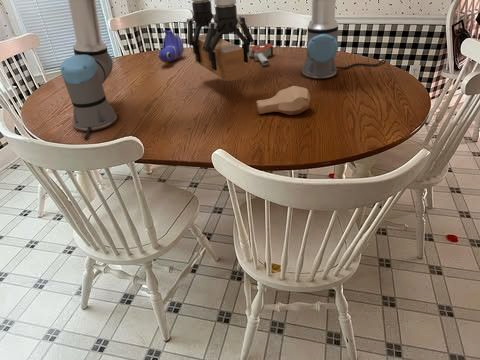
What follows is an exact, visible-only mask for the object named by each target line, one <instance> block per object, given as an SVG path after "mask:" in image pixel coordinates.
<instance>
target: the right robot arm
mask: <svg viewBox="0 0 480 360" xmlns="http://www.w3.org/2000/svg"><path fill="white" fill-rule="evenodd" d="M191 1H192V2H191V6H192V13H193V15H192V17H191V18H187V19H186V23H187V45H189V46H191V47H192V51H193V54H194V55H195V54H196V61H198V62H201V61H200V53H199V46H198V45H197V42H198V38H199V35H201V30H202V28H204V27H207V28H208V23H209V22H211V23H212V20H213V23H216V13H214V14H213V12H212V11H213V10H212V9H213V8H212V2H211V0H191ZM335 16H336V0H311V20H310V21H309V23H308V25H307V44H306V45H307V46H306V53H307V54H306V59H305V60H304V62H303V66H302V71H301V74H302V76H303V77H305V78H307V79H312V80H328V79H332V78H334V77H336V75H337V69H341V70H346V69H350V68H351V67H353V66H367V67H376V66H379V65H380V64H382V63H383V62H384V63H386V62H387V61H386V60H385V59H381V60H380V61H379V62H378V63H363V62H361V63H360V62H358V63H351V64H349V65H348V66H337V65H336V59H335V57H336V56H337V53H338V51H339V44H338V43H339V41H338V40H339V23H338V21H337V20H336V19H335V18H336V17H335ZM194 23H195V26H194ZM194 28H195V29H194ZM217 29H218V28H217V27H216V28H215V29H214V34H213V35H214V36H215V34H216V31H217ZM193 36H194V37H193ZM223 36H224V35H223ZM223 36H222V37H221V39H223V40H224V37H223ZM196 61H195V62H196Z"/></svg>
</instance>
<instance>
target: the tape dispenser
mask: <svg viewBox="0 0 480 360" xmlns="http://www.w3.org/2000/svg"><path fill="white" fill-rule="evenodd" d="M260 47H261V48H260ZM273 54H274V46H273V45H272V43H265V44H264V43H263V44H257V45H256V44H255V45H251V46H250V45H249V53H248V56H249V57H251V58H254V61H255V62H258V61H259V62H260V63H261V66H262V67H264V66H265V67H266V66H268V65H269V64H270V59H268V58H269V57H272V56H273Z"/></svg>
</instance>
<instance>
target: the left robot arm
mask: <svg viewBox="0 0 480 360" xmlns="http://www.w3.org/2000/svg"><path fill="white" fill-rule="evenodd" d="M213 2H214V5H215V7H214V11H215V14H216V23H214V22H212V21H211V22H209V23H208V27H207V28H208V29H207V32H206V34H207V36H206V39H205V42H204V46H203V50H204V51H205V52H208V56H209V61H211V64H212V69H213V70H217V66H216V56H215V52H213V51H214V49H215V47H216V45H217V44H218V42H219V40H220V38H221V37H222V36H224V35H228V34H233V33H234V34H235V35H236V36H237V37H238V38H239V39H240V40H241V41H242V42H243V43H241V48H243V52H244V63H246V64H247V63H249V55H248V53H249V46H250V45H251V43H253V42H254V38H253V36H252V34H251V32H250V29H249V27H248V26H247V24H246V18H245V17H243V16H239V17H237V16H238V12H237V5H236V4H237V0H213ZM68 6H69V10H70V16H71V20H72V27H73V30H74V36H75V40H76V42H75V44H74V45H73V46H72V49H73V54H74V55H72V56H70V57H67V58H65V59H63V61H62V62H61V63H60V66H59V68H60V72H61V73H60V74H61V77H62V79H63V82H64V84H65V87H66V90H67V93H68V96H69V99H70V101H71V104H72V108H73V114H72V117H73V118H72V119H73V125H74V128H75V129H76V131H78V132H84V133H85V135H84V136H83V137H84V140H88V138H89V135H90V133H92V132H99V131H102V130H105V129H107V128H110V127H111V126H113V125H115V124H116V122H117V121H118V116H117V113H116V111H115V110H114V108H113V107H112V105H111V103H110V102H109V101H108V99H107V96H106V92H105V89H104V87H103V86H104V85H103V84H104V83H105V82H106V80H107V79H108V78H109V77H110V76H111V73H112V71H113V66H114V65H113V59H112V56H111V54H110V53H109V51H108V46H107V44H106V43H105V42H103V41H102V35H101V29H100V23H99V22H100V20H99V16H98V15H99V13H98V7H97V2H96V0H68ZM238 24H239V26H240V27H241V30H242V32H243V33H242V32H241V30H240V29H239V28H238V27H237V26H238ZM216 27H217V28H218V29H217V31H216ZM214 30H215V32H216V34H215V36H214V38H213V40H212V37H213V34H214ZM211 40H212V42H211Z"/></svg>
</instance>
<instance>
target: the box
mask: <svg viewBox="0 0 480 360" xmlns="http://www.w3.org/2000/svg"><path fill="white" fill-rule="evenodd" d="M206 36H207V33H202V34H199V38H198V42H197V45H198V46H199V53H200V61H201V62H198V61H196V54H194V59H195V62H196V63H197V64H199V65H200V66H202V67H203V68H205V69H206V70H208V71H209V72H211V73H212V74H215V75H216V76H217V77H219V78H220V79H222V80H224V81H225V82H231V81H235V80H239V79H242V78H245V77H246V76H245V62H244V52H243V48H242V46H238V45H236V44H234V43H232V42H230V41H227V40H225V39H224V38H223V39H221V38H220V40H219V42H218V44H217V45H216V47H215V49H214V51H213V52H215V56H216V66H217V70H213V69H212V64H211V61H209V56H208V52H205V51H204V50H203V46H204V42H205V39H206ZM193 37H194V35H193ZM213 38H214V35H213V37H212V40H213ZM212 40H211V42H212Z"/></svg>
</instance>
